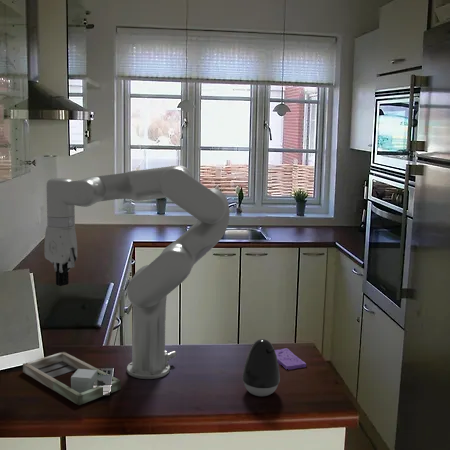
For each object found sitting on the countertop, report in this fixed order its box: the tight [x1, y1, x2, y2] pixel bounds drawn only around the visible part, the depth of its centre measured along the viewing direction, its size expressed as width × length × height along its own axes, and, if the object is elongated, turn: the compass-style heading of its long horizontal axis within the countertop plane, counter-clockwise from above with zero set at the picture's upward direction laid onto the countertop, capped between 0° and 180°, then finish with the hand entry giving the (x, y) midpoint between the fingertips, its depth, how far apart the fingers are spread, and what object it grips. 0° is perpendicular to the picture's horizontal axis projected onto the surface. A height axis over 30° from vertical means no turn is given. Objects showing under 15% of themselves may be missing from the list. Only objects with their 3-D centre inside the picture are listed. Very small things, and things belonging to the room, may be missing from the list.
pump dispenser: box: [242, 338, 281, 397], centre depth 158 cm, size 10×10×15 cm
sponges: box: [274, 347, 307, 371], centre depth 181 cm, size 7×13×2 cm, turn 22°
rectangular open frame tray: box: [22, 351, 122, 406], centre depth 162 cm, size 13×28×2 cm, turn 48°
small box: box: [70, 369, 97, 393], centre depth 156 cm, size 6×6×5 cm
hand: (62, 284), depth 167 cm, fingers closed
